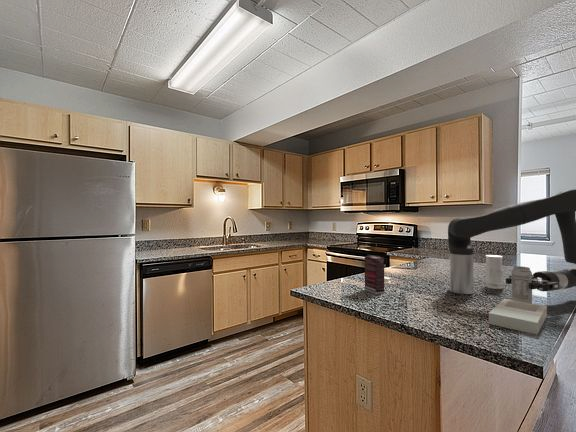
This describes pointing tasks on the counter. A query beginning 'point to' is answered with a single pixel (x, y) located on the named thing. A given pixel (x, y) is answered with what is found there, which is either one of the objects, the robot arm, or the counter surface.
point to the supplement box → (374, 274)
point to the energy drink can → (521, 284)
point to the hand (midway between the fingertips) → (517, 283)
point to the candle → (494, 271)
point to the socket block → (518, 316)
